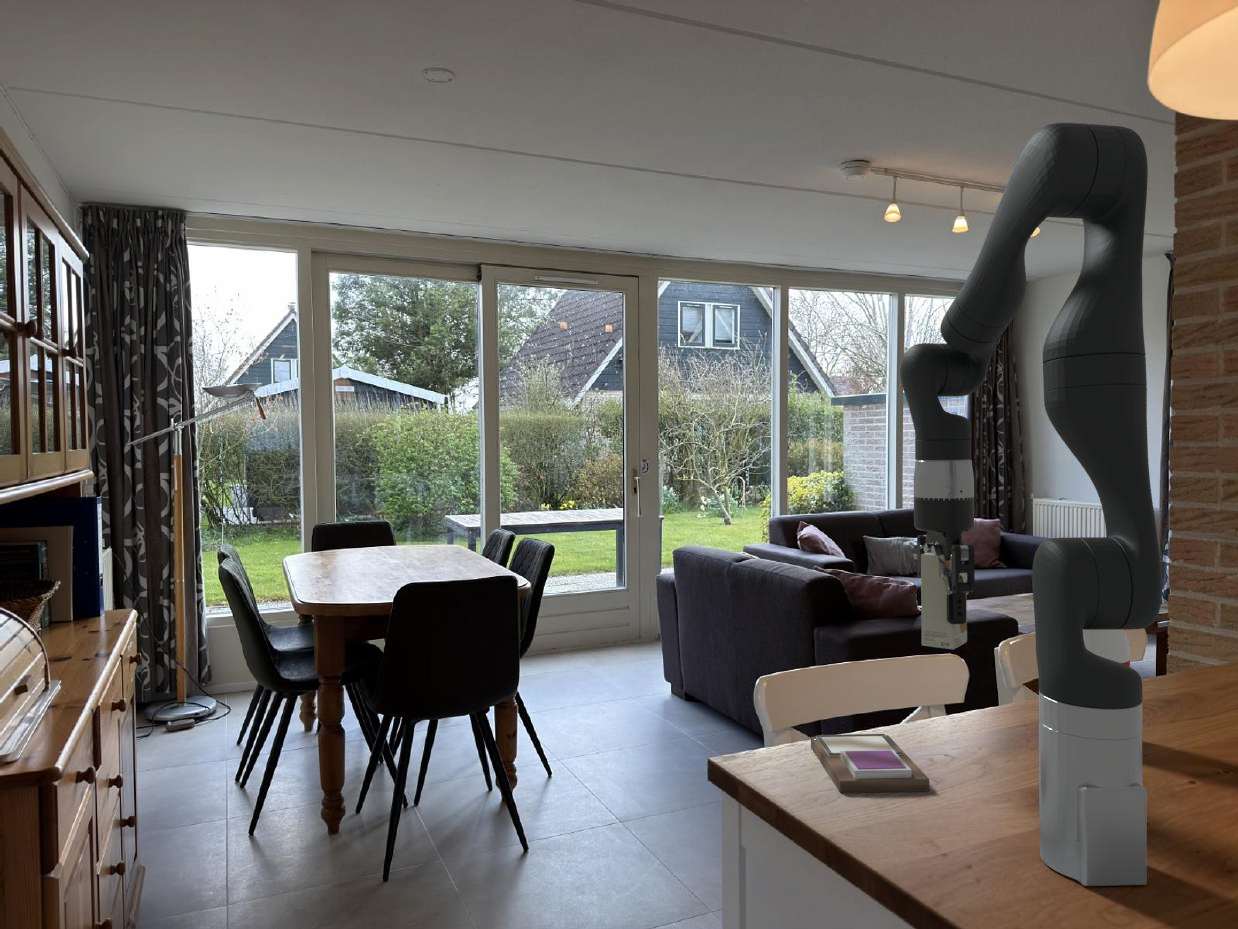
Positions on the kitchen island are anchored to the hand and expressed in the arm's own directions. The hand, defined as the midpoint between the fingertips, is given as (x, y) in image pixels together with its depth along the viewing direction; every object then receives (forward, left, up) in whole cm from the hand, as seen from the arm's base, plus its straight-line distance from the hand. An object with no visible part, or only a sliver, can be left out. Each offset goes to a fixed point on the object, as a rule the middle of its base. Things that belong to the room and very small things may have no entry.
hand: (944, 617), depth 116 cm
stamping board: (-1, +11, -20) cm, 22 cm away
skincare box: (0, 0, -4) cm, 4 cm away
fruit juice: (+8, -24, -20) cm, 32 cm away
